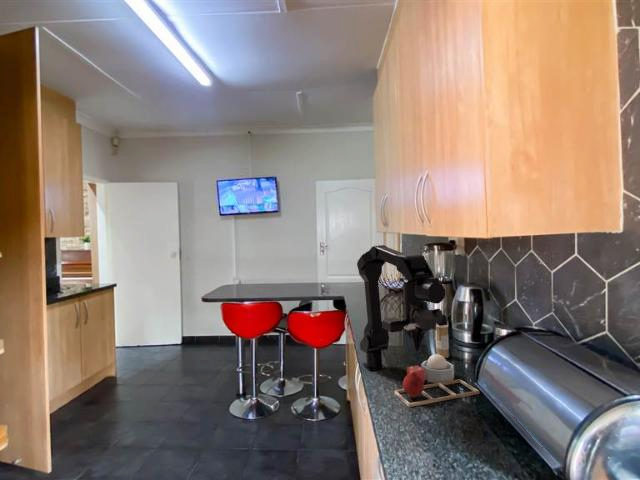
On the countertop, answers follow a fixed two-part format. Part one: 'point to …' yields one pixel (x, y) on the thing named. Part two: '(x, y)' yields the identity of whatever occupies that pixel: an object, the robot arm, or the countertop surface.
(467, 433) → the countertop surface
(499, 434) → the countertop surface
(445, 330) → the sprinkles bottle
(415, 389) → the onion
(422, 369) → the dome base
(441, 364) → the dome
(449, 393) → the wooden frame with crossbars
